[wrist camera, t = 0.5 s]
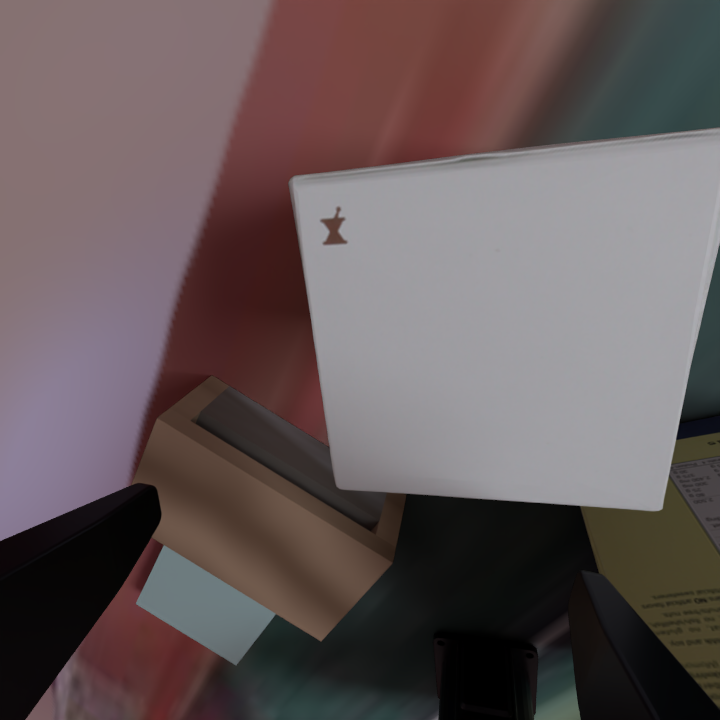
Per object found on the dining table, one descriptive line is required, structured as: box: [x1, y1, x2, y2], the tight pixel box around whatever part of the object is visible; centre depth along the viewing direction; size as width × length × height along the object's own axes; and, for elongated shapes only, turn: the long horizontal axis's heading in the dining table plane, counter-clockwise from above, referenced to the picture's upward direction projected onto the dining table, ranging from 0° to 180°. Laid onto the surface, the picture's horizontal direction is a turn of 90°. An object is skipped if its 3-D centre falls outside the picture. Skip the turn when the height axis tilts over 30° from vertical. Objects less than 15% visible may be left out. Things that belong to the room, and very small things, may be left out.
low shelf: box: [131, 376, 407, 641], centre depth 25 cm, size 8×13×5 cm, turn 61°
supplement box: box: [288, 128, 720, 511], centre depth 14 cm, size 7×7×13 cm
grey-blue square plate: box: [136, 545, 276, 665], centre depth 32 cm, size 10×9×2 cm
